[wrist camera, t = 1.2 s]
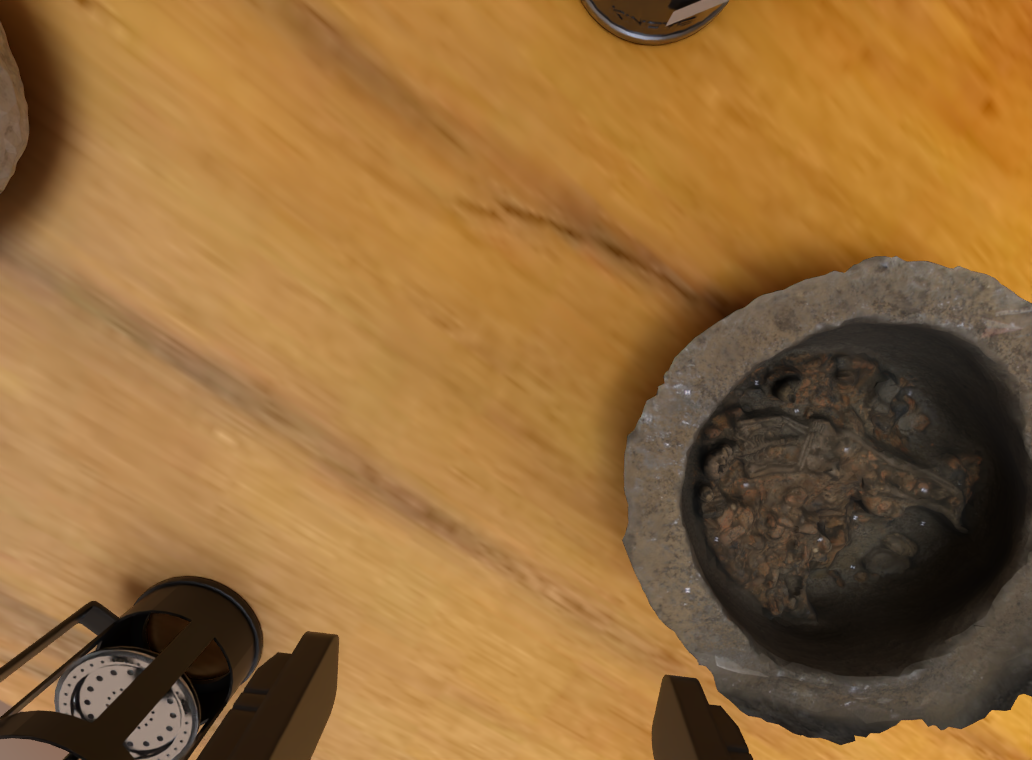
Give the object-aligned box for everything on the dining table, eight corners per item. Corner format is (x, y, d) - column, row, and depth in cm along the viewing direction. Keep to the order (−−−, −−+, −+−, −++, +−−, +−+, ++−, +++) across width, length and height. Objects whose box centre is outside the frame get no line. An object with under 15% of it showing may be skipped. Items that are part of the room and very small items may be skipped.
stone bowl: (939, 658, 34) (1073, 796, 25) (577, 587, 36) (581, 693, 27) (1082, 297, 29) (1320, 307, 20) (649, 233, 30) (684, 215, 21)
